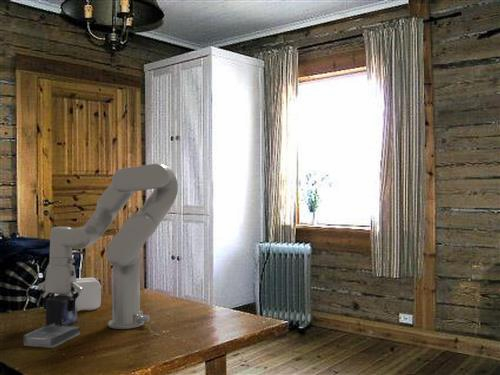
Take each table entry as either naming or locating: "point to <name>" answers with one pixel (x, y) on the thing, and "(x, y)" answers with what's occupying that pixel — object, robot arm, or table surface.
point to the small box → (60, 311)
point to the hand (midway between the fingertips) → (59, 309)
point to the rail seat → (50, 336)
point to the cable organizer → (88, 294)
